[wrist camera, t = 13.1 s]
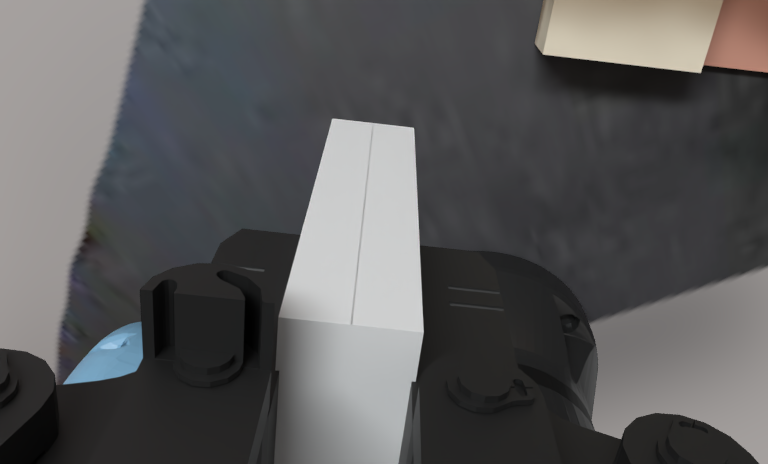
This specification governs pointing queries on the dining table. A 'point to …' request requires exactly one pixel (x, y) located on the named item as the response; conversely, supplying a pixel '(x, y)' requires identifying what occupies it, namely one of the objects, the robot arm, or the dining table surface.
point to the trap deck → (658, 32)
